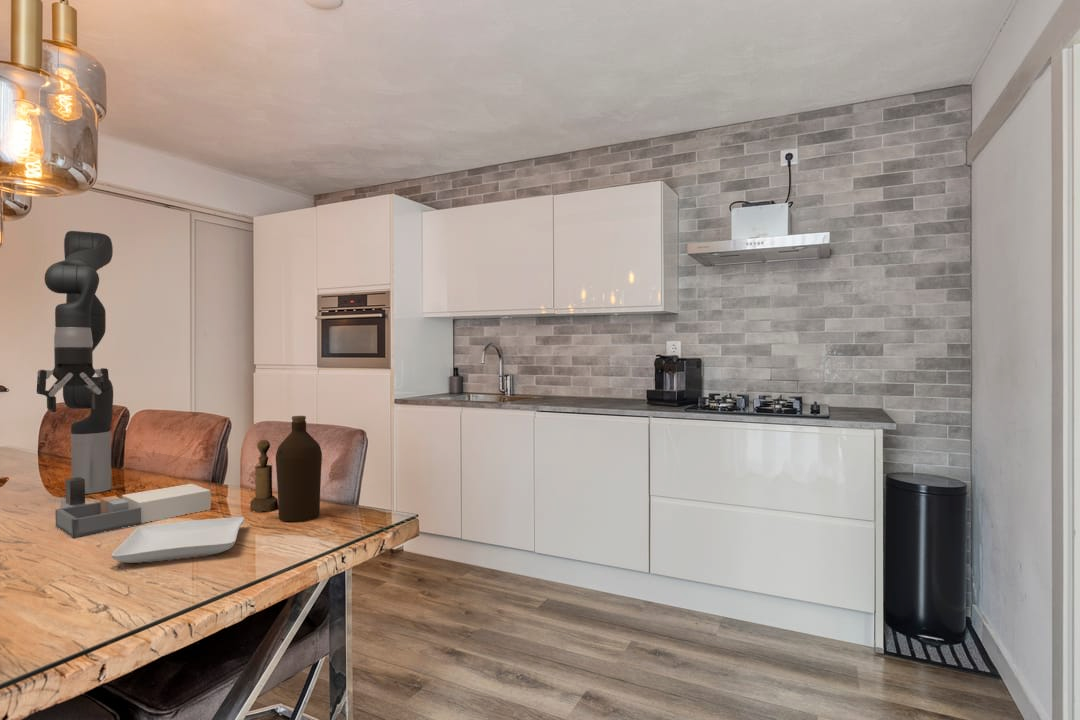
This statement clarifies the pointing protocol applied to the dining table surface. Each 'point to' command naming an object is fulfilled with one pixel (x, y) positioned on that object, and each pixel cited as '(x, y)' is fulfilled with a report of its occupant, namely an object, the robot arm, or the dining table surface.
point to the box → (94, 519)
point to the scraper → (74, 492)
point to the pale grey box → (117, 505)
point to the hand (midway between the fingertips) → (74, 410)
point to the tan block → (104, 503)
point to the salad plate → (179, 540)
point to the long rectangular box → (169, 502)
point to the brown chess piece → (263, 482)
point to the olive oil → (298, 474)
